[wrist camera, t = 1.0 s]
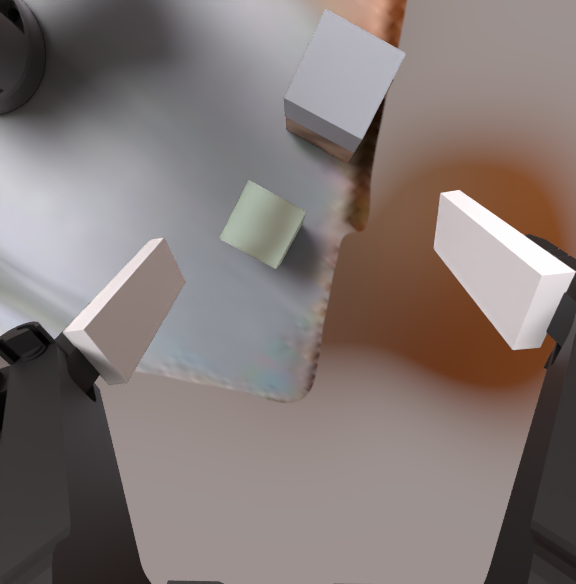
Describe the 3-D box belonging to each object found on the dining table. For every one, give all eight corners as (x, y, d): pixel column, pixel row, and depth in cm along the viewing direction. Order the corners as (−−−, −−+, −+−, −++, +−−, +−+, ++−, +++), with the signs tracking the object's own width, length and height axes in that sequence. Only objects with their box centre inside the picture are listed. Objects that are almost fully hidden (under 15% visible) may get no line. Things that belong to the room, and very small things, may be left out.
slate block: (285, 116, 33) (284, 97, 29) (321, 38, 32) (325, 8, 28) (353, 153, 34) (362, 139, 30) (392, 77, 32) (405, 53, 29)
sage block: (241, 243, 39) (219, 238, 27) (262, 202, 38) (248, 179, 26) (280, 264, 39) (275, 269, 27) (301, 224, 38) (306, 211, 27)
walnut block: (286, 129, 37) (285, 115, 33) (320, 62, 36) (324, 38, 32) (347, 164, 38) (353, 153, 34) (382, 98, 37) (393, 79, 33)
